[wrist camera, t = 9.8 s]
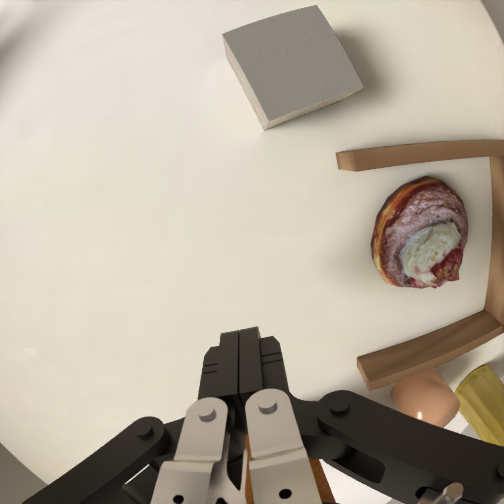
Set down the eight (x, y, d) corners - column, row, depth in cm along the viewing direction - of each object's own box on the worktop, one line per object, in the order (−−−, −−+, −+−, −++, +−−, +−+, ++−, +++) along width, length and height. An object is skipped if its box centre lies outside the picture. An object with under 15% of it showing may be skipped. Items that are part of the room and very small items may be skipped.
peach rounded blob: (393, 374, 21) (416, 413, 17) (439, 357, 21) (466, 390, 16) (389, 409, 23) (406, 445, 18) (431, 392, 23) (452, 424, 18)
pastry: (385, 301, 19) (417, 338, 14) (347, 209, 17) (381, 227, 12) (464, 248, 18) (505, 271, 13) (438, 157, 16) (486, 162, 11)
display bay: (335, 152, 16) (353, 151, 13) (494, 139, 15) (520, 140, 12) (357, 366, 21) (369, 391, 18) (488, 315, 20) (506, 330, 17)
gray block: (227, 60, 14) (222, 34, 11) (302, 33, 14) (316, 5, 10) (263, 130, 16) (268, 121, 12) (339, 101, 15) (363, 87, 11)
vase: (443, 408, 24) (495, 497, 10) (468, 367, 22) (537, 457, 8) (474, 400, 24) (525, 474, 10) (498, 361, 22) (561, 435, 9)
